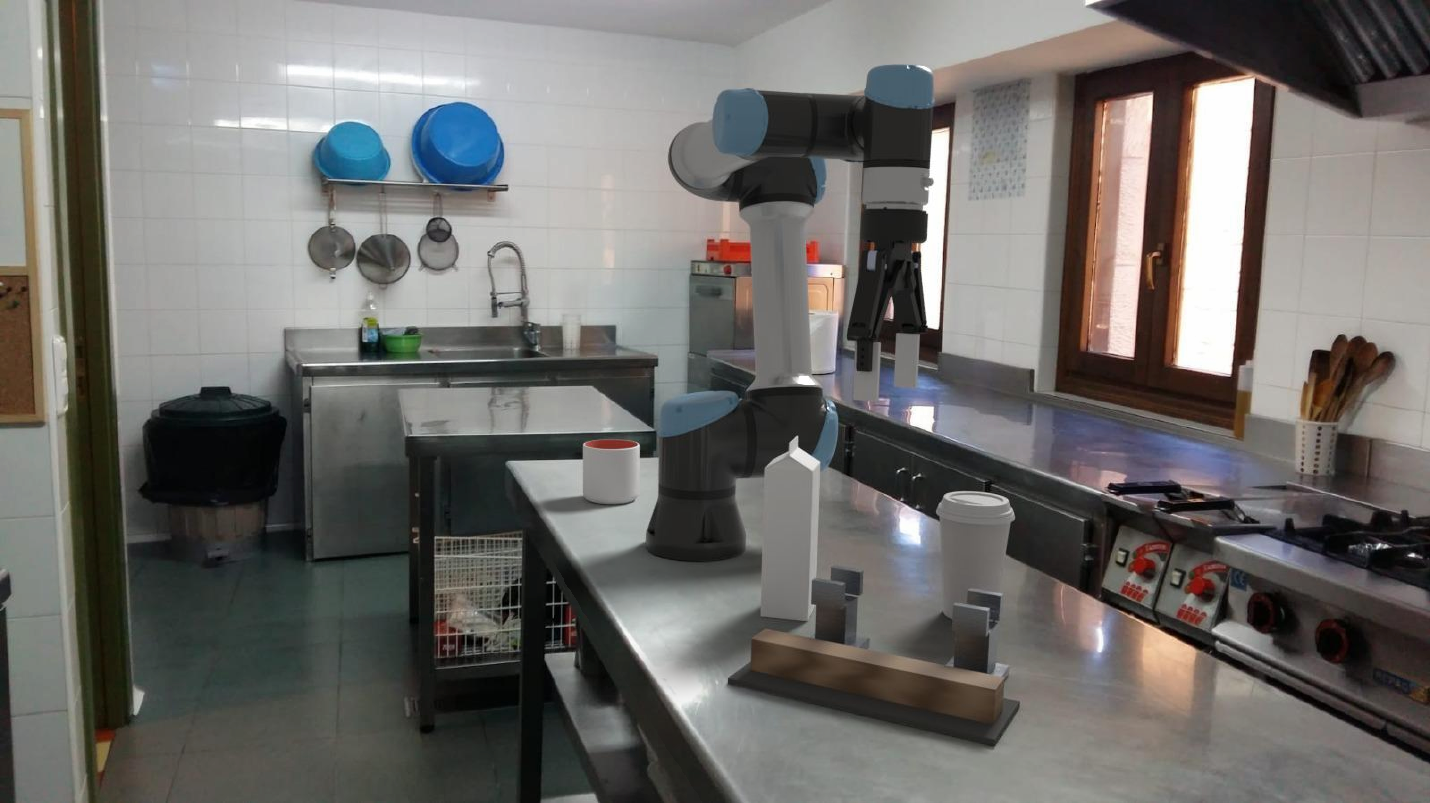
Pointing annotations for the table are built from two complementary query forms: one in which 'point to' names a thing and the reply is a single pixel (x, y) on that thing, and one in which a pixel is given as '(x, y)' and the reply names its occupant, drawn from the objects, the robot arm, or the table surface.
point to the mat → (878, 706)
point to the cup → (611, 471)
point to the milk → (790, 534)
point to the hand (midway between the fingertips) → (886, 394)
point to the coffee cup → (972, 543)
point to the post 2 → (978, 633)
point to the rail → (879, 675)
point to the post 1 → (838, 607)
